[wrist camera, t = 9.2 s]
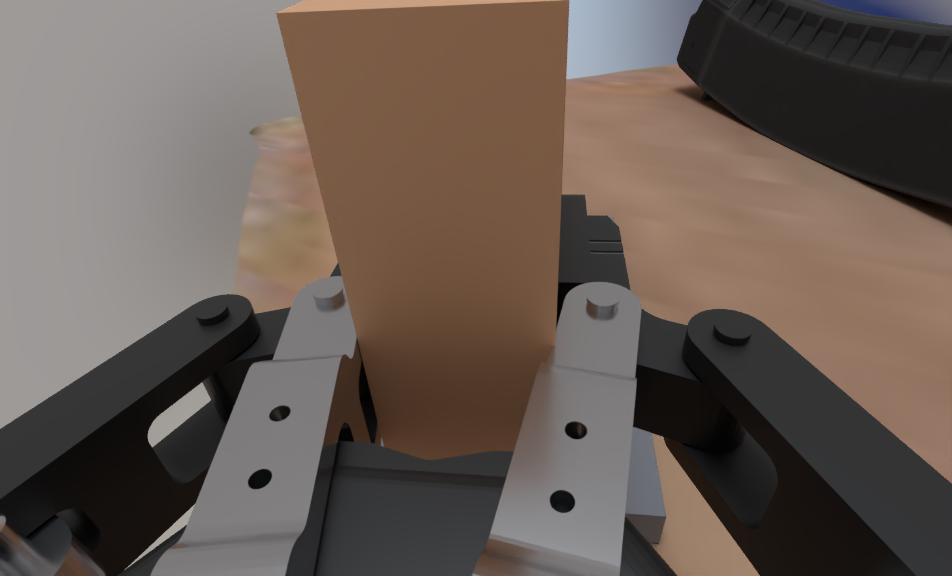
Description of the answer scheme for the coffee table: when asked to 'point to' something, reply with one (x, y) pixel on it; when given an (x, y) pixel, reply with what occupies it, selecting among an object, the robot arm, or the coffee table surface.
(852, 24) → the magazine
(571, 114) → the coffee table surface
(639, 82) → the coffee table surface
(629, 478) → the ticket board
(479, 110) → the brown rectangular block
